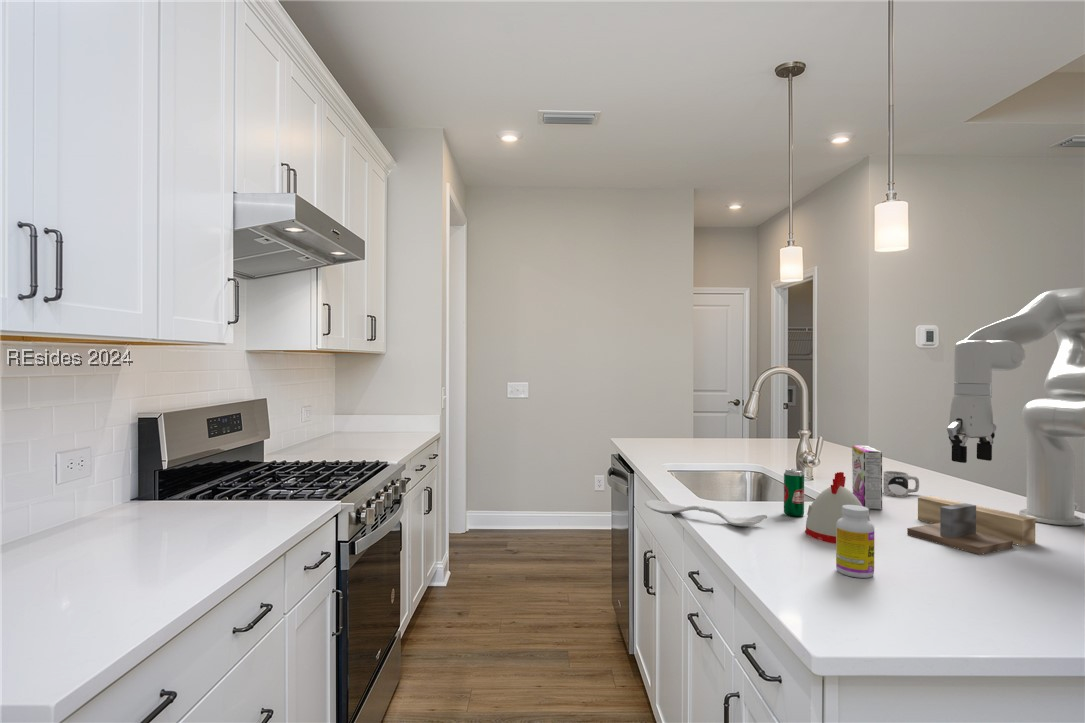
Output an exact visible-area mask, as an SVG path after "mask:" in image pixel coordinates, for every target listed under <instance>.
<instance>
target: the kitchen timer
mask: <svg viewBox="0 0 1085 723" xmlns="http://www.w3.org/2000/svg"><path fill="white" fill-rule="evenodd" d="M845 485H846V476H845V473H844V472H842V471H838V472H835V473H834V478H832V484H830V486H829V487H827V488H825V489H824V490H822V491H821V492H820V493H819V494H818V495H817V496H816V498H815V499H814V500H813V501H812V503H811V504H809V505H808V510H807V514H806V515H807V517H806V521H805V533H806V535H807V536H808V537H810V538H813V539H815V540H817V541H821V542H826V543H830V544H836V523H837V521H838V520H839V519H840V518H843V514H842V506H843V505H858V506H862V504H861V503H860V501H859V500H858V498H857V497H856V496H855V495H854V494H853V491H851V490H850V489H847V488H846V487H845ZM867 519H868V521H870V522H871V518H870V514H869V515H868V517H867Z"/></svg>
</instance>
